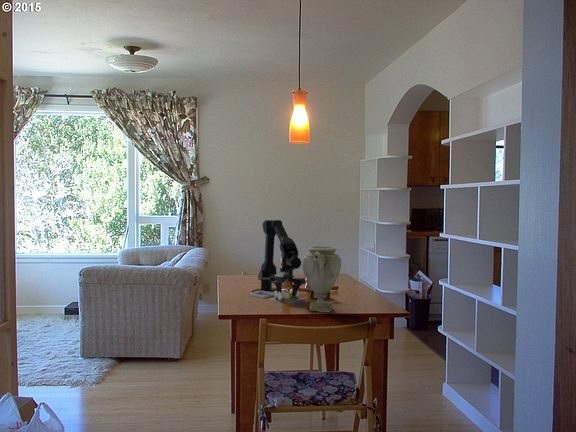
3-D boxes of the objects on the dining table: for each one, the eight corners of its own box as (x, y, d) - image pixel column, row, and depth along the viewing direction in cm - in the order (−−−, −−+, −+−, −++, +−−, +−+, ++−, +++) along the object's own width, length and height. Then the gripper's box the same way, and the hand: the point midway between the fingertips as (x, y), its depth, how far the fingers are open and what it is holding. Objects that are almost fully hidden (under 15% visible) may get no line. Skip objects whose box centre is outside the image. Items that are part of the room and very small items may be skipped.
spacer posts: (285, 295, 295) (286, 288, 295) (301, 298, 289) (302, 290, 289) (271, 299, 283) (271, 292, 283) (287, 302, 278) (287, 294, 278)
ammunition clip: (328, 299, 293) (329, 276, 292) (330, 299, 291) (330, 276, 291) (309, 299, 291) (309, 276, 290) (310, 300, 289) (310, 277, 288)
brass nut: (285, 297, 290) (285, 290, 290) (293, 298, 287) (294, 291, 287) (279, 299, 285) (279, 292, 285) (287, 300, 283) (287, 293, 282)
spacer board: (282, 296, 296) (282, 295, 296) (305, 300, 288) (305, 298, 288) (267, 301, 284) (267, 299, 284) (290, 304, 277) (290, 303, 277)
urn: (300, 303, 279) (302, 244, 277) (337, 304, 279) (339, 244, 277) (301, 315, 255) (303, 249, 253) (342, 316, 255) (344, 250, 253)
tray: (260, 294, 301) (260, 290, 301) (275, 296, 296) (275, 292, 296) (249, 297, 293) (249, 293, 293) (265, 299, 288) (265, 295, 287)
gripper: (263, 265, 284) (262, 296, 284) (294, 269, 274) (293, 301, 274) (275, 263, 293) (274, 293, 294) (306, 267, 283) (305, 297, 284)
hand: (286, 296), depth 286 cm, fingers open, 8 cm apart
